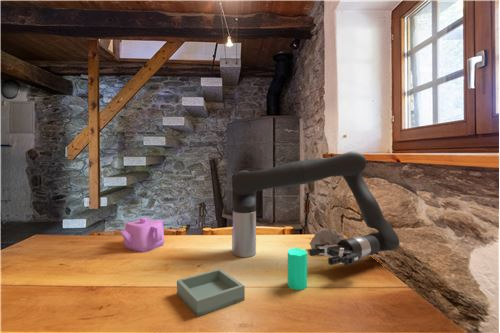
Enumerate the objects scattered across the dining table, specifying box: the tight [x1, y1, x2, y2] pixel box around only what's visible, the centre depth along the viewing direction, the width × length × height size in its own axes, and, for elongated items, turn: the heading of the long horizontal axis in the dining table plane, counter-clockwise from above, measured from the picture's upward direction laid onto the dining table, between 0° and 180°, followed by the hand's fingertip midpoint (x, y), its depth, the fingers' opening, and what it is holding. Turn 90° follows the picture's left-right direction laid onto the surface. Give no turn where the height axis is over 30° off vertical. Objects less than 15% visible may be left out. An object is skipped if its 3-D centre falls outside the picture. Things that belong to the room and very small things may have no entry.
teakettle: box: [119, 217, 165, 253], centre depth 123 cm, size 17×17×12 cm
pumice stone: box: [309, 228, 346, 253], centre depth 117 cm, size 15×8×10 cm, turn 84°
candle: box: [287, 246, 308, 291], centre depth 87 cm, size 6×6×12 cm
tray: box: [176, 268, 246, 318], centre depth 80 cm, size 14×14×4 cm
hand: (319, 257), depth 91 cm, fingers open, 8 cm apart
